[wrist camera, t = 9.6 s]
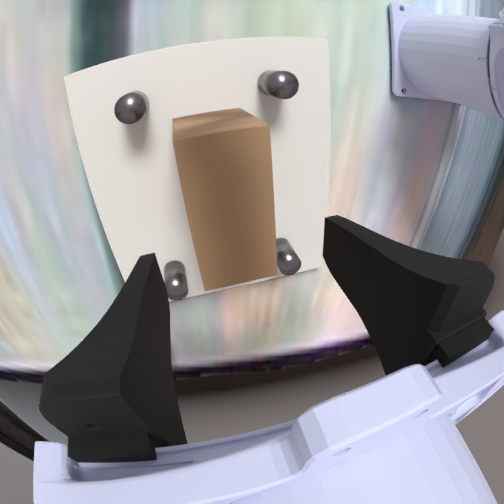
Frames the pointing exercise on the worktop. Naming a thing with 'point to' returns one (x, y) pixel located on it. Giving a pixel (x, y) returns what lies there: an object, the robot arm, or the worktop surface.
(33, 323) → the worktop surface
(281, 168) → the plate
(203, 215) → the walnut block
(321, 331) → the worktop surface
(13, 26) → the worktop surface
